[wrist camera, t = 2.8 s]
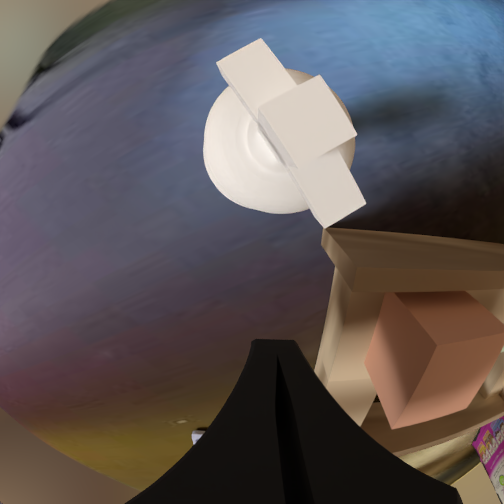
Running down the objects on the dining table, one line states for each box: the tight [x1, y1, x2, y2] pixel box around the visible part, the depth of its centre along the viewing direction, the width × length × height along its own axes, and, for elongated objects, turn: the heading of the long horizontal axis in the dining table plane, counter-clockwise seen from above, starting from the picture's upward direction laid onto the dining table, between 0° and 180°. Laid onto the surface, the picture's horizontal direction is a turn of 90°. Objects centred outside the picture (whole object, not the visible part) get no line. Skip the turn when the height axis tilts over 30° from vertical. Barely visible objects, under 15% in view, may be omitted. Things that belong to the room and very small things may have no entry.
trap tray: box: [314, 227, 504, 457], centre depth 12 cm, size 13×19×4 cm
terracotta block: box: [364, 291, 504, 429], centre depth 9 cm, size 4×4×4 cm
